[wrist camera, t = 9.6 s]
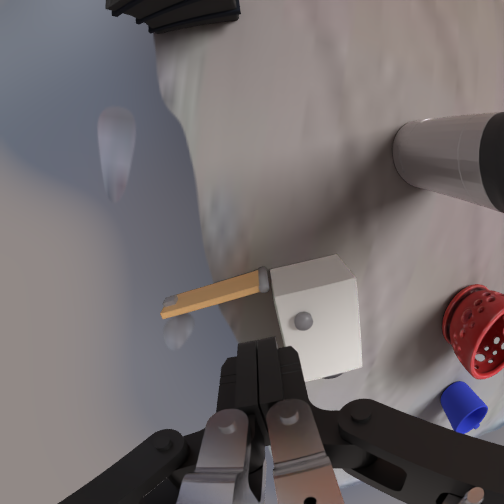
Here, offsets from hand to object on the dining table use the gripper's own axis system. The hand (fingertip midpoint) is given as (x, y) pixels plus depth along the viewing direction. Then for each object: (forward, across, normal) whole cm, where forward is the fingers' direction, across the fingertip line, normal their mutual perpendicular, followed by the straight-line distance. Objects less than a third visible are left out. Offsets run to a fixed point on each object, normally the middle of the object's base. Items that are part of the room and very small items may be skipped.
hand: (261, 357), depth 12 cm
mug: (+27, -34, +46) cm, 63 cm away
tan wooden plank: (+27, +7, +7) cm, 29 cm away
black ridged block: (+27, +2, -28) cm, 39 cm away
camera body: (+27, -5, +14) cm, 31 cm away
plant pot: (+27, -32, +23) cm, 48 cm away
